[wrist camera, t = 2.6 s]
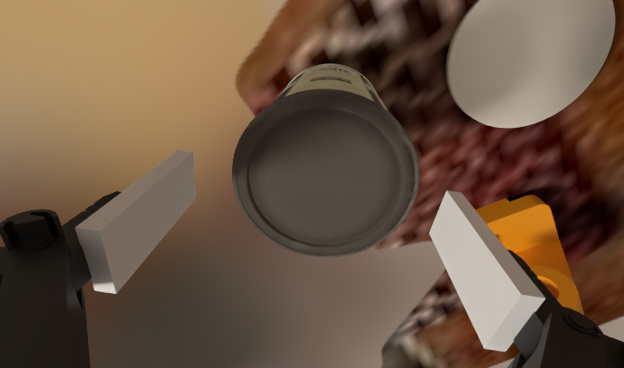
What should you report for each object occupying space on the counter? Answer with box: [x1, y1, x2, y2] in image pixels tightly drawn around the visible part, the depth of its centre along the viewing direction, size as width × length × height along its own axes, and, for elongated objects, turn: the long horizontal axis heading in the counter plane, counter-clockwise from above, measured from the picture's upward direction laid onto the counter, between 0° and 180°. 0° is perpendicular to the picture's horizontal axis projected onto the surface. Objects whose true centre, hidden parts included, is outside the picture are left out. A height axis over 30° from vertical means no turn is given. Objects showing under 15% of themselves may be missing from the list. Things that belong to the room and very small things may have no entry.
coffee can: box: [232, 64, 419, 257], centre depth 22 cm, size 10×10×14 cm
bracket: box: [476, 195, 584, 315], centre depth 28 cm, size 11×7×12 cm, turn 121°
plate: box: [446, 0, 615, 128], centre depth 24 cm, size 12×12×1 cm
